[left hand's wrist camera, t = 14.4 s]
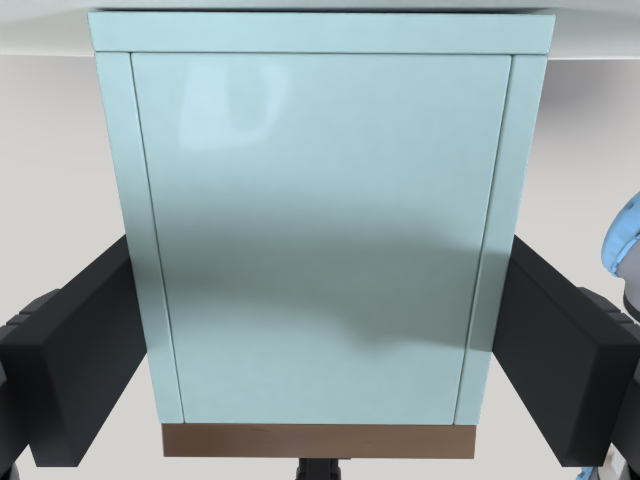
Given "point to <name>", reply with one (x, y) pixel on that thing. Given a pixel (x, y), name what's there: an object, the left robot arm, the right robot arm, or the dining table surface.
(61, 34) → the dining table surface
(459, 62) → the chest
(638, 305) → the right robot arm
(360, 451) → the lid
